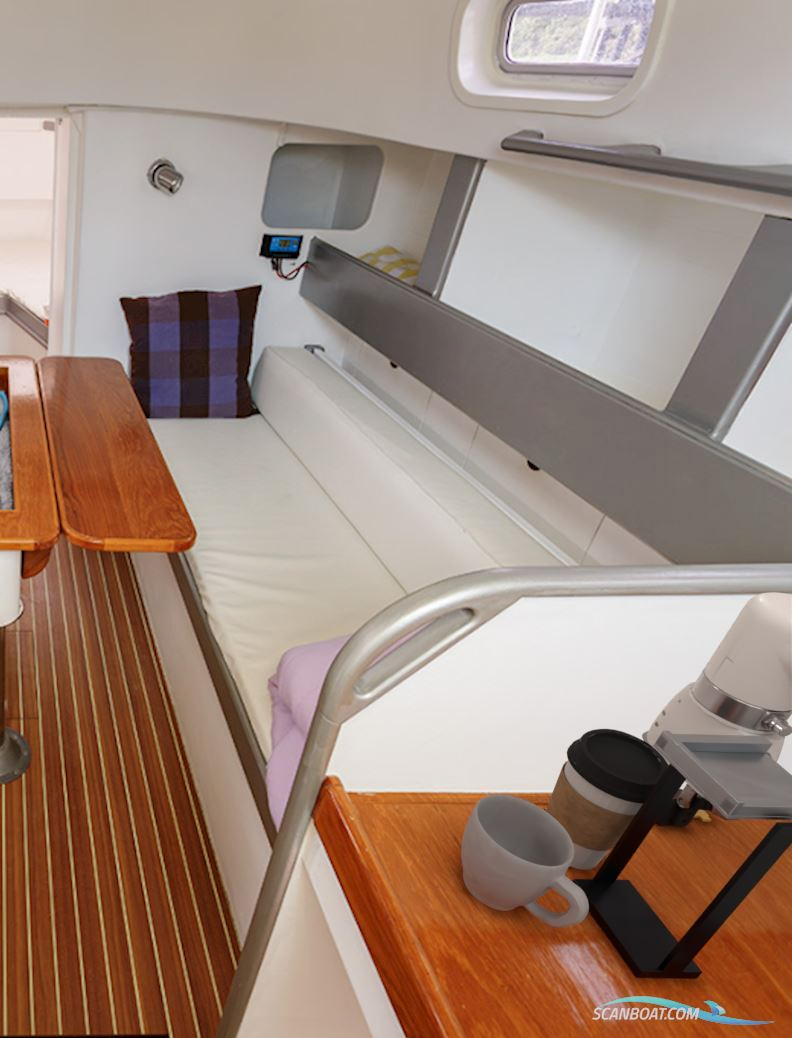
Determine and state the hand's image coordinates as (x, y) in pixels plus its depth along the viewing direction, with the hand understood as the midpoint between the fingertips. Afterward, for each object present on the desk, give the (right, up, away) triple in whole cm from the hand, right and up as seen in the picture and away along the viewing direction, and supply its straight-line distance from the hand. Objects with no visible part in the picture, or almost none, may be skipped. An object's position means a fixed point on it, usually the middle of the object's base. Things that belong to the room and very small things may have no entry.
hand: (660, 813), depth 88 cm
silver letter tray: (-14, +12, -24) cm, 30 cm away
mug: (-26, -5, -10) cm, 28 cm away
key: (+2, 0, 0) cm, 2 cm away
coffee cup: (-15, -2, -4) cm, 15 cm away
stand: (-15, -7, -13) cm, 21 cm away
